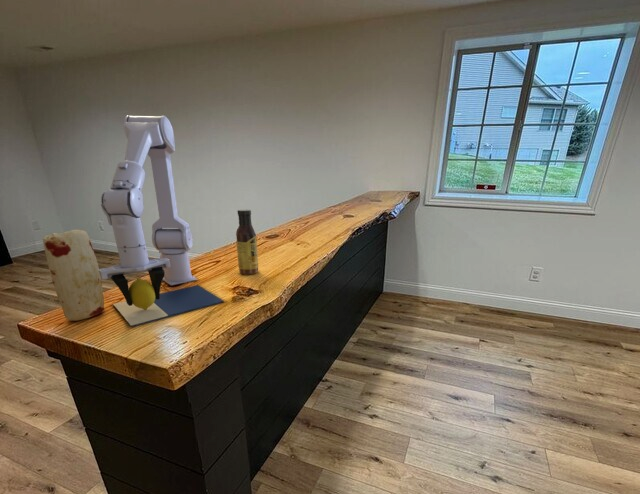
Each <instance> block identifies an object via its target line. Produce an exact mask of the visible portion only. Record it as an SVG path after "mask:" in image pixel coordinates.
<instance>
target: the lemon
mask: <svg viewBox="0 0 640 494" xmlns="http://www.w3.org/2000/svg"><path fill="white" fill-rule="evenodd" d="M128 288H129V293H130V297H131V300H132V303H133V305H135V306H136V307H138V308H142V309H144V310H147V309H148V307H150V306H151V305H152V304H153V303H154V301H155V290H154V288H153V286H152V283H151V281H148V280H146V279H142V277H141V278H140V277H138V278H136V280H134V281H132V282H131V283H130V285H129V286H128Z"/></svg>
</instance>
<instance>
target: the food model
mask: <svg viewBox="0 0 640 494" xmlns="http://www.w3.org/2000/svg"><path fill="white" fill-rule="evenodd" d="M42 243H43V248H44V253H45V258H46V262H47V266H48V270H49V274H50V278H51V281H52V284H53V287H54V290H55V294H56V296H57V299H58V301H59V303H60V307H61V309H62V312H63V315H64V317H65V319H66V321H69V322H71V321H75V322H77V321H82V320H86V319H88V318H91V317H94V316H97V315H99V314H101V313H103V312H104V311H105V300H104V299H105V298H104V290H103V289H104V288H103V281H102V279H101V277H100V273H99V269H100V267H99V263H98V260H97V256H96V253H95V251H94V247H93V245H92V242H91V238H90V237H89V234H88V233H87V231H86V230H82V229H72V230H67V231H64V232H63V231H62V232H60V233H57V232H52V233H50V234H48V235H46V236H44V237H43V239H42Z"/></svg>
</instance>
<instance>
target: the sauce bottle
mask: <svg viewBox="0 0 640 494" xmlns="http://www.w3.org/2000/svg"><path fill="white" fill-rule="evenodd" d="M237 216H238V227H237V229H236V231H235V237H236V253H237V263H238V264H237V265H238V270H239V273H240V275H247V276H248V275H255V274H257V273H258V272H259V256H258V242H257V233H256V232H255V229H254V227H253V224H252V210H251V209H247V208H246V209H238V210H237Z"/></svg>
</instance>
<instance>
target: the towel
mask: <svg viewBox="0 0 640 494" xmlns="http://www.w3.org/2000/svg"><path fill="white" fill-rule="evenodd" d="M223 303H225V302H224V300H223V299H221V298H220V297H218V296H217V295H215V294H213V293H211V292H210V291H209V290H207V289H205V288H203V287H202V286H200V285H199V284H197V285H193V286H188V287H183V288H178V289H174V290H170V291H166V292H160V299H156V298H155V301H154V303H153V304H152V305H151V306H150V307H148V309H147V310H144V309H142V308H138V307H136V306H135V305H133V303H132V306H129V305H128V304H127V302H126V300H125V301H119V302H116V303H112V304H113V307H114V308H115V309H116V310H117V312H118V313H119V314H120V315H121V317H122V318H123V319H124V320H125V321H126V323H127V324H128V325H129V326H130V328H133V327H138V326H141V325H144V324H149V323H152V322H155V321H160V320H163V319H167V318H170V317H174V316H179V315H181V314H185V313H189V312H192V311H196V310H200V309H203V308H208V307H212V306H215V305H219V304H223Z"/></svg>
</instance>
